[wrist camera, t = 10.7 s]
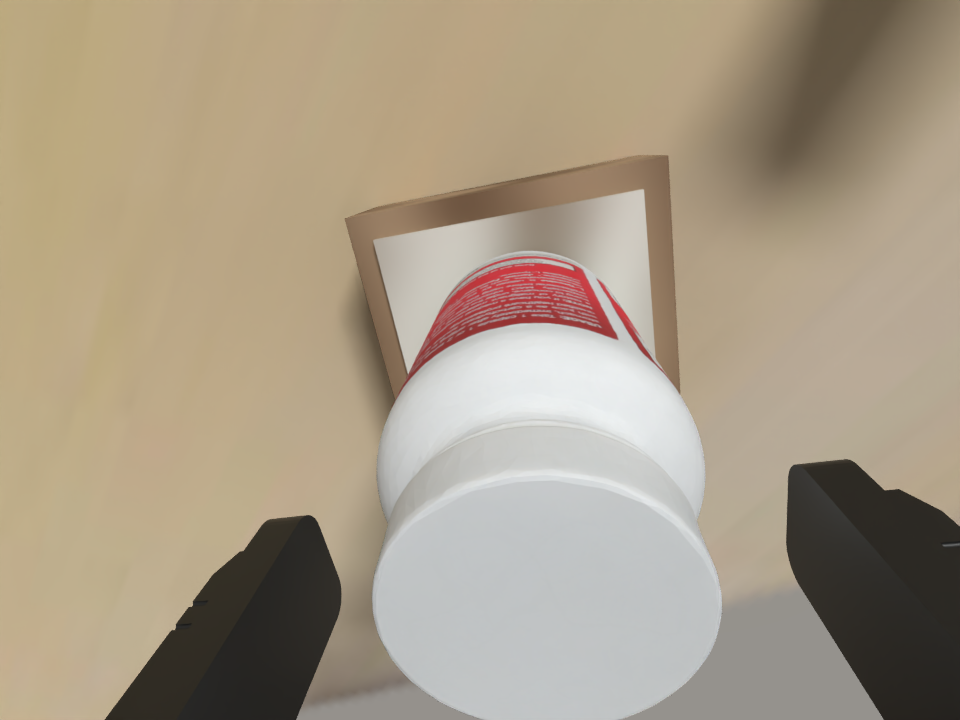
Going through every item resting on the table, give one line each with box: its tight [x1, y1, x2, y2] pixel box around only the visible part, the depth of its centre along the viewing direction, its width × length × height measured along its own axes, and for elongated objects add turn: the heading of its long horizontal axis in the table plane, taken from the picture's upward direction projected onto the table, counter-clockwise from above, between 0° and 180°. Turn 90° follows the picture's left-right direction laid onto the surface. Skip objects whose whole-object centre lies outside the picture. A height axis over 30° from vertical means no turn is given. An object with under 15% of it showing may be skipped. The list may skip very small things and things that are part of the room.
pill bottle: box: [372, 251, 722, 720], centre depth 12 cm, size 6×6×11 cm
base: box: [345, 155, 680, 400], centre depth 19 cm, size 10×10×4 cm
